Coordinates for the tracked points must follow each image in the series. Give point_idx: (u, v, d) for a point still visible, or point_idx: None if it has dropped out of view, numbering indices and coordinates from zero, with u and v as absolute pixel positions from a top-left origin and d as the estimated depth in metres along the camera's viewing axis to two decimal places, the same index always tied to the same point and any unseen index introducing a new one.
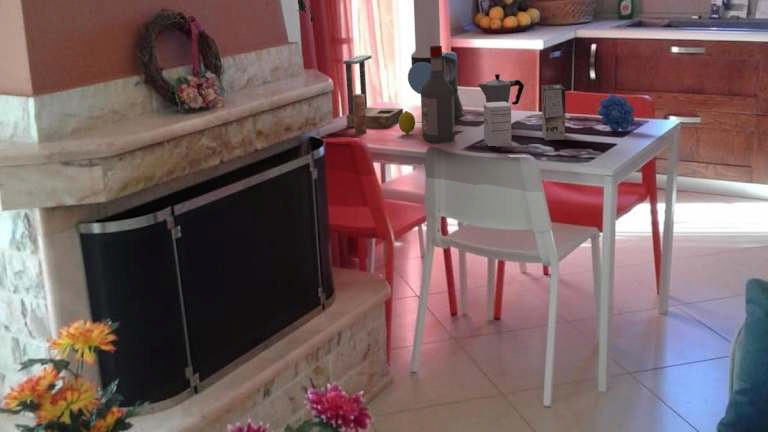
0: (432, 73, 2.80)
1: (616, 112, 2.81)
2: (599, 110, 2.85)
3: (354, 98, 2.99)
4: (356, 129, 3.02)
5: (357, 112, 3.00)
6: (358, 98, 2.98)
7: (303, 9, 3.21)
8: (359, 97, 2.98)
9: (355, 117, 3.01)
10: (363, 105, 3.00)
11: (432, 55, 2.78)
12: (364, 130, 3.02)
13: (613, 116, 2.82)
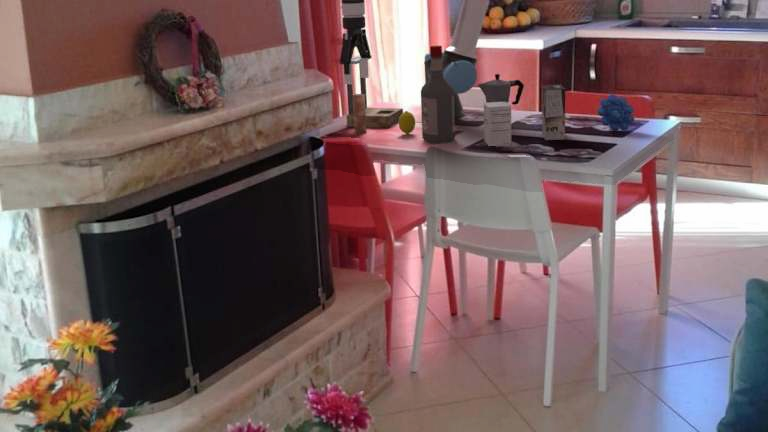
0: (432, 73, 2.80)
1: (616, 112, 2.81)
2: (599, 110, 2.85)
3: (354, 98, 2.99)
4: (356, 129, 3.02)
5: (357, 112, 3.00)
6: (358, 98, 2.98)
7: (361, 44, 2.97)
8: (359, 97, 2.98)
9: (355, 117, 3.01)
10: (363, 105, 3.00)
11: (432, 55, 2.78)
12: (364, 130, 3.02)
13: (613, 116, 2.82)
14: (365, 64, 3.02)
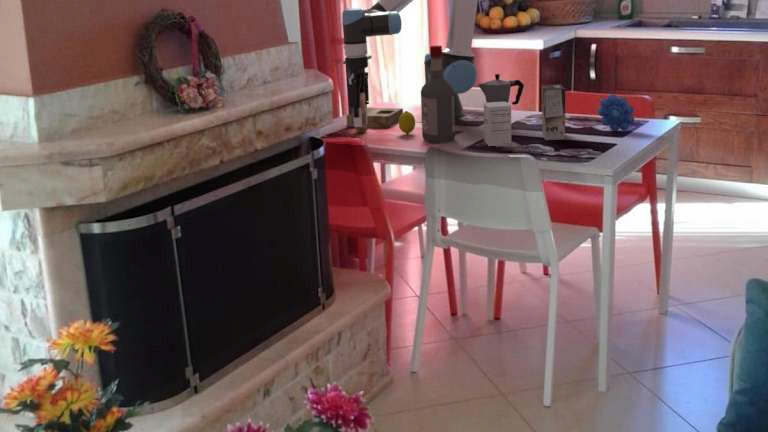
0: (432, 73, 2.80)
1: (616, 112, 2.81)
2: (599, 110, 2.85)
3: None
4: (357, 127, 3.02)
5: None
6: None
7: (362, 85, 3.00)
8: None
9: None
10: (363, 103, 3.00)
11: (432, 55, 2.78)
12: (365, 128, 3.02)
13: (613, 116, 2.82)
14: None
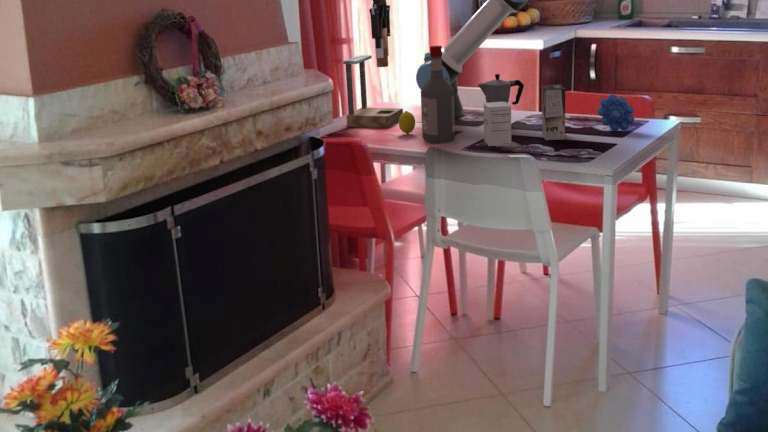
0: (432, 73, 2.80)
1: (616, 112, 2.81)
2: (599, 110, 2.85)
3: None
4: (378, 62, 3.09)
5: None
6: None
7: (384, 17, 3.06)
8: None
9: None
10: (385, 38, 3.07)
11: (432, 55, 2.78)
12: (386, 63, 3.09)
13: (613, 116, 2.82)
14: None
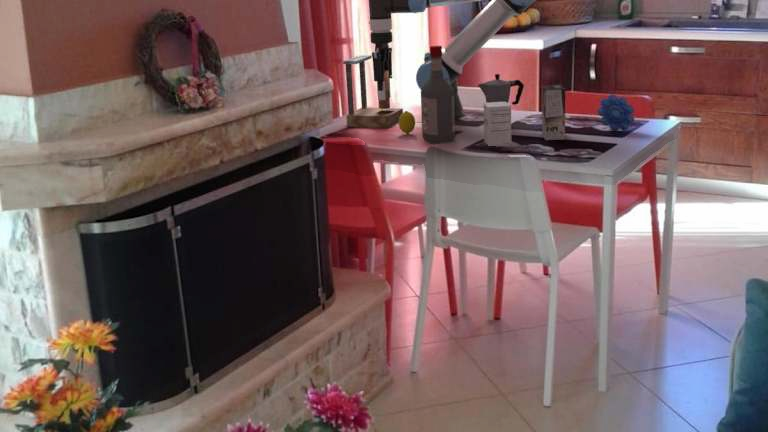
0: (432, 73, 2.80)
1: (616, 112, 2.81)
2: (599, 110, 2.85)
3: None
4: (380, 104, 3.13)
5: None
6: None
7: (386, 60, 3.11)
8: None
9: None
10: (387, 81, 3.11)
11: (432, 55, 2.78)
12: (388, 105, 3.13)
13: (613, 116, 2.82)
14: None
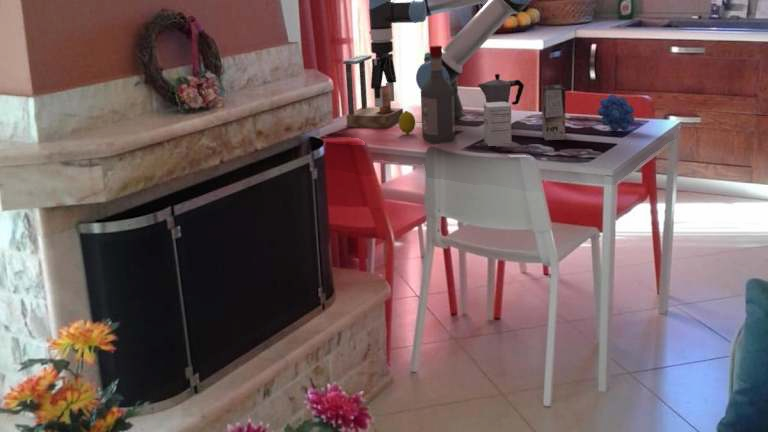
0: (432, 73, 2.80)
1: (616, 112, 2.81)
2: (599, 110, 2.85)
3: None
4: None
5: (383, 102, 3.13)
6: (384, 89, 3.12)
7: (388, 68, 3.13)
8: (385, 88, 3.12)
9: (381, 107, 3.14)
10: (389, 96, 3.13)
11: (432, 55, 2.78)
12: None
13: (613, 116, 2.82)
14: (391, 88, 3.18)
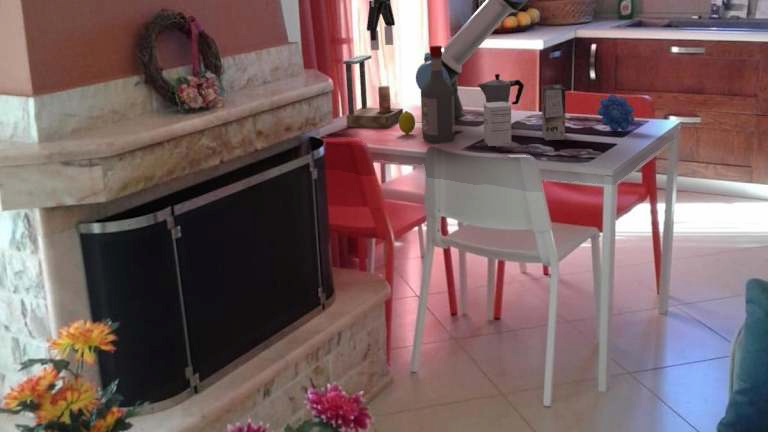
0: (432, 73, 2.80)
1: (616, 112, 2.81)
2: (599, 110, 2.85)
3: (380, 90, 3.12)
4: None
5: (383, 103, 3.13)
6: (384, 90, 3.11)
7: (386, 12, 3.08)
8: (385, 89, 3.11)
9: (381, 108, 3.14)
10: (388, 96, 3.13)
11: (432, 55, 2.78)
12: None
13: (613, 116, 2.82)
14: (390, 31, 3.13)
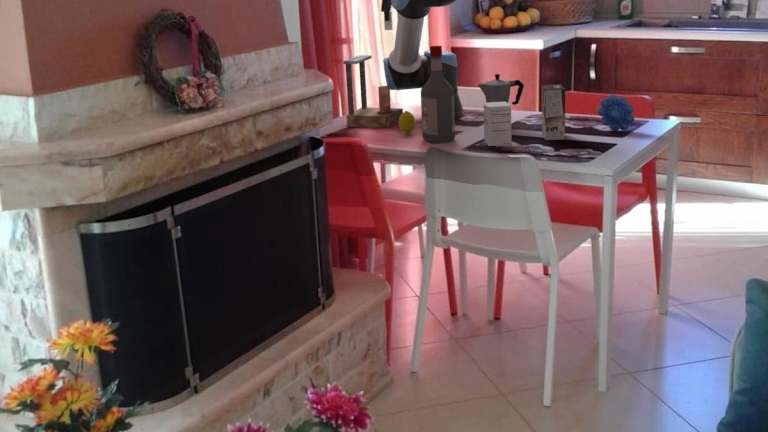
0: (432, 73, 2.80)
1: (616, 112, 2.81)
2: (599, 110, 2.85)
3: (380, 90, 3.12)
4: None
5: (383, 103, 3.13)
6: (384, 90, 3.11)
7: None
8: (385, 89, 3.11)
9: (381, 108, 3.14)
10: (388, 96, 3.13)
11: (432, 55, 2.78)
12: None
13: (613, 116, 2.82)
14: None
